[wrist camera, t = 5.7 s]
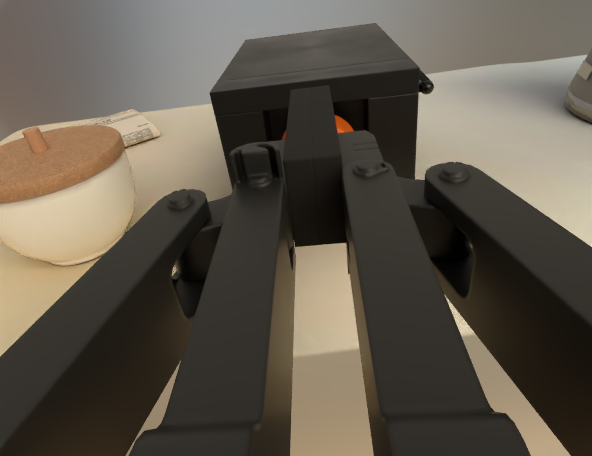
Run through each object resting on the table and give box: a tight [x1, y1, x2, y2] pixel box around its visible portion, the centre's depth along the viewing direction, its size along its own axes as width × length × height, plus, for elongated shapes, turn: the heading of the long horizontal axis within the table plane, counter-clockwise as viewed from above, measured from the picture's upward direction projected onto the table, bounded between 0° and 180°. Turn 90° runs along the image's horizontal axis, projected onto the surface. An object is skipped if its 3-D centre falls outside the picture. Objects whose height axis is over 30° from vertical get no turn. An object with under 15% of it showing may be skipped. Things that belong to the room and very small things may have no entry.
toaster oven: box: [210, 23, 434, 189], centre depth 33 cm, size 17×14×11 cm
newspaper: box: [71, 109, 160, 147], centre depth 50 cm, size 23×12×2 cm, turn 127°
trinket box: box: [0, 125, 136, 266], centre depth 30 cm, size 11×11×9 cm
